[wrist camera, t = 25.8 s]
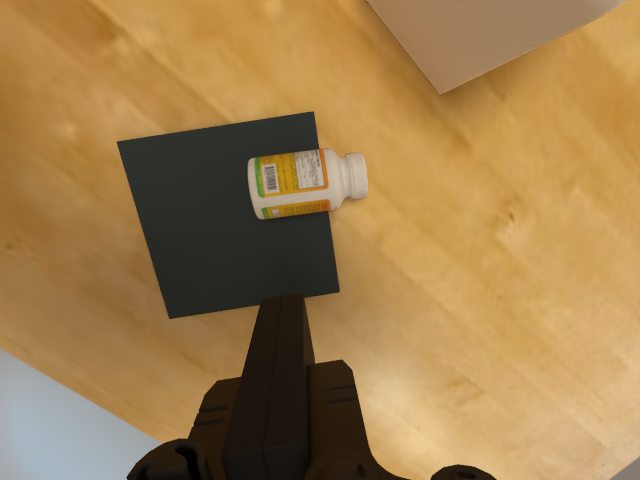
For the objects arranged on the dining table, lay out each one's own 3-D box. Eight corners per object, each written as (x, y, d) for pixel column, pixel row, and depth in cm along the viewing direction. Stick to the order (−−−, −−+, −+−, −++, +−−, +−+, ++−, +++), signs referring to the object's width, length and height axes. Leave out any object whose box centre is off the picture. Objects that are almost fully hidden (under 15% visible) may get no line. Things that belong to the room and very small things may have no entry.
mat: (170, 316, 37) (169, 319, 36) (119, 141, 32) (116, 141, 31) (339, 290, 37) (339, 292, 36) (313, 111, 32) (313, 111, 31)
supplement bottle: (261, 202, 34) (359, 189, 34) (257, 231, 30) (370, 217, 30) (249, 149, 31) (356, 135, 31) (243, 172, 27) (369, 156, 27)
